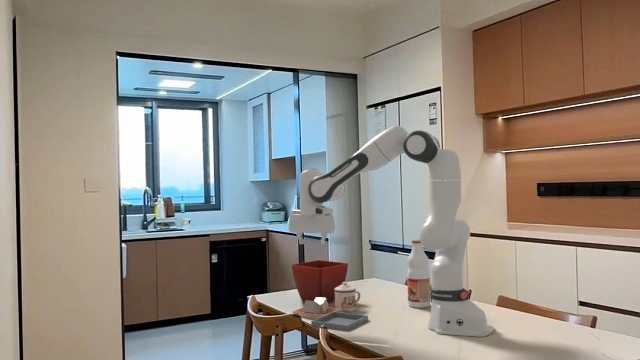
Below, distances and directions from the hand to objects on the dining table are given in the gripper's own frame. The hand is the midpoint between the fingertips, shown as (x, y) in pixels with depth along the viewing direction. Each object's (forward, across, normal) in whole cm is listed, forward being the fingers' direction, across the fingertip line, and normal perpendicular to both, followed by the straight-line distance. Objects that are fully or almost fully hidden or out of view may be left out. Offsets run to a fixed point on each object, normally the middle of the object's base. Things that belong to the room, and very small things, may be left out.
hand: (311, 244), depth 207 cm
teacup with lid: (+29, +6, +18) cm, 35 cm away
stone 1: (+26, 0, +1) cm, 26 cm away
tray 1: (+29, 0, +2) cm, 29 cm away
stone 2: (+28, 0, +6) cm, 28 cm away
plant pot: (+29, -14, +28) cm, 43 cm away
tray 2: (+29, +15, -5) cm, 33 cm away
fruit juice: (+29, +30, +36) cm, 56 cm away
